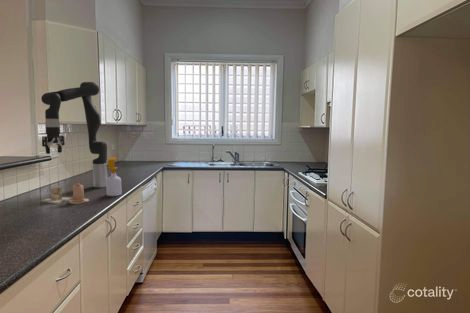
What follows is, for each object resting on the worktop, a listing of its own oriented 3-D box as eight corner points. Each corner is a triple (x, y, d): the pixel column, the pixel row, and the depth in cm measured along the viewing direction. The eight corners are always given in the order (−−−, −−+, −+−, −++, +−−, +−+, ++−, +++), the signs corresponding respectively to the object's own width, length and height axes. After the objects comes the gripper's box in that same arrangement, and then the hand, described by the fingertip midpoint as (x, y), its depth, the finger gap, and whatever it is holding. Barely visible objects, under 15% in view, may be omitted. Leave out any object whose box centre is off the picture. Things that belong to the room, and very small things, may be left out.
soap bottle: (124, 193, 203) (122, 156, 200) (117, 196, 194) (116, 158, 191) (111, 193, 204) (109, 156, 201) (104, 196, 195) (102, 158, 192)
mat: (77, 198, 187) (77, 197, 187) (93, 199, 185) (93, 199, 185) (63, 203, 177) (63, 202, 177) (79, 204, 174) (79, 203, 174)
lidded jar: (78, 198, 185) (77, 182, 184) (87, 199, 183) (86, 183, 182) (70, 201, 178) (69, 184, 177) (79, 202, 177) (78, 185, 176)
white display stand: (56, 197, 189) (55, 185, 189) (72, 199, 187) (72, 186, 186) (39, 202, 178) (39, 189, 177) (56, 203, 175) (56, 190, 174)
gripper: (47, 126, 176) (49, 154, 178) (67, 126, 190) (68, 152, 191) (37, 126, 178) (39, 154, 179) (57, 126, 191) (58, 151, 193)
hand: (54, 153), depth 185 cm, fingers open, 8 cm apart
